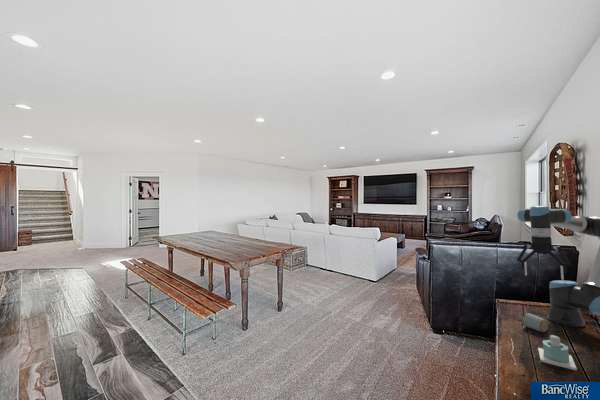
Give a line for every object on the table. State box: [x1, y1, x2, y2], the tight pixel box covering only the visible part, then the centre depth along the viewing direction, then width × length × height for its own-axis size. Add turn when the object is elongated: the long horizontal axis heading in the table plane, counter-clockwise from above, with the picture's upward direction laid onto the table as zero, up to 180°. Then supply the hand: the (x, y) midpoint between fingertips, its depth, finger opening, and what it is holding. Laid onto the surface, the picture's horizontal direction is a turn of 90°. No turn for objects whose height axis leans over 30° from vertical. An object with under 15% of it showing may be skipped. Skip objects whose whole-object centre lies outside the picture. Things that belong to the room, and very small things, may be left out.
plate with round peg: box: [537, 334, 578, 372], centre depth 114 cm, size 11×11×10 cm
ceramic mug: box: [523, 312, 549, 333], centre depth 140 cm, size 11×8×8 cm
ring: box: [542, 339, 570, 362], centre depth 114 cm, size 8×8×5 cm
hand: (543, 277), depth 131 cm, fingers open, 13 cm apart
